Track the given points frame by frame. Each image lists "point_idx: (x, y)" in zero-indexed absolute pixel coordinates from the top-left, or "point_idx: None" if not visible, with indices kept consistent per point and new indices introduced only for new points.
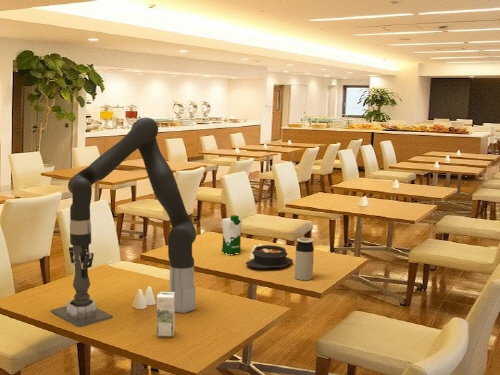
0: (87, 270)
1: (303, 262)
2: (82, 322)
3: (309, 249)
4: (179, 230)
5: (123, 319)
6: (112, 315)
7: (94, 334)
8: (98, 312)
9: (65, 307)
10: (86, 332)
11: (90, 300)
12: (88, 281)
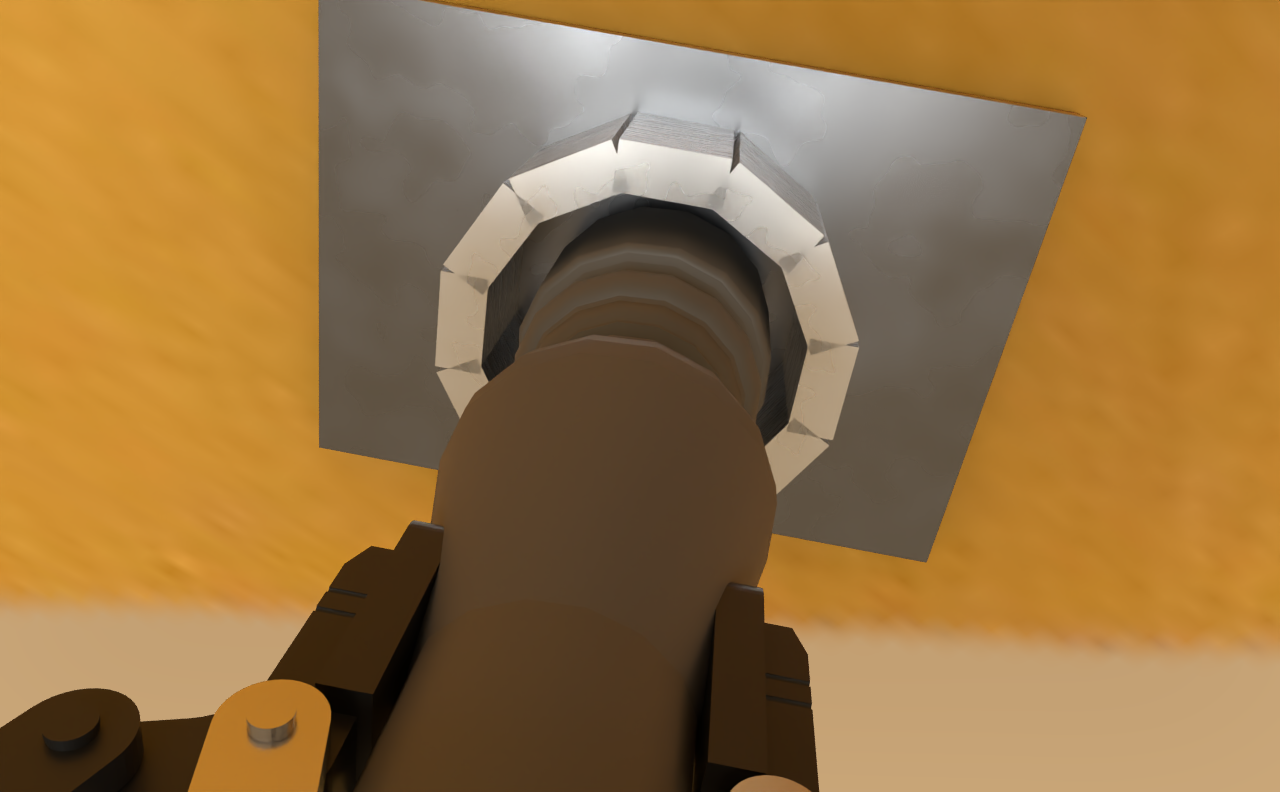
0: (814, 773)
1: None
2: (906, 497)
3: None
4: None
5: (1260, 60)
6: (1080, 118)
7: (1210, 585)
8: (823, 160)
9: (357, 300)
10: (1095, 593)
11: (731, 274)
12: (751, 496)
